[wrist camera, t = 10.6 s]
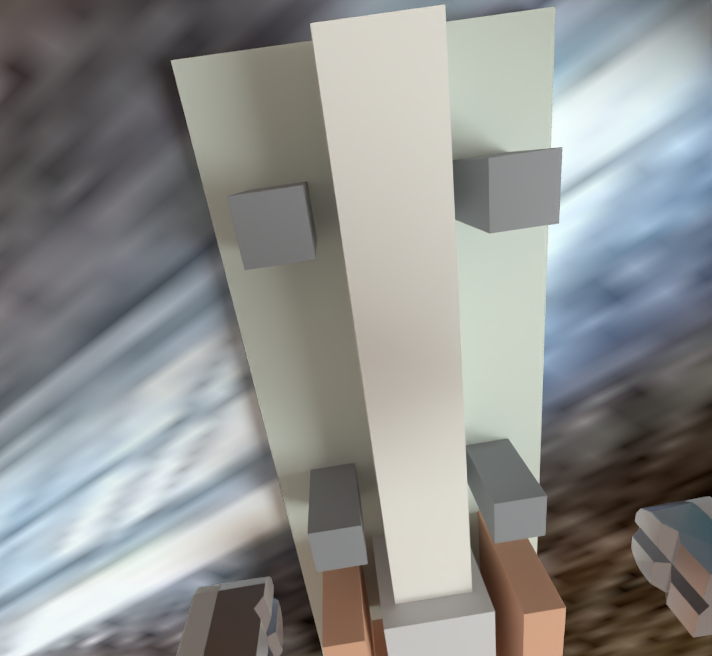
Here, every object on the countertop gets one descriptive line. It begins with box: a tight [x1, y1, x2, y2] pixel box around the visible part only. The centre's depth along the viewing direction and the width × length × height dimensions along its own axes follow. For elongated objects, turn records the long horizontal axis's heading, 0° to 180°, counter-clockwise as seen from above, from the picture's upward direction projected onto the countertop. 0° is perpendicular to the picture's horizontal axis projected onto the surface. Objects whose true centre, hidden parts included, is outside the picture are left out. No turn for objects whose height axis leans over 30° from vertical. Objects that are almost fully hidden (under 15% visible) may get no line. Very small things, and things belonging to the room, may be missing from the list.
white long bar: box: [310, 5, 496, 656], centre depth 15 cm, size 25×4×4 cm, turn 8°
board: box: [171, 6, 566, 656], centre depth 16 cm, size 30×12×6 cm, turn 8°
